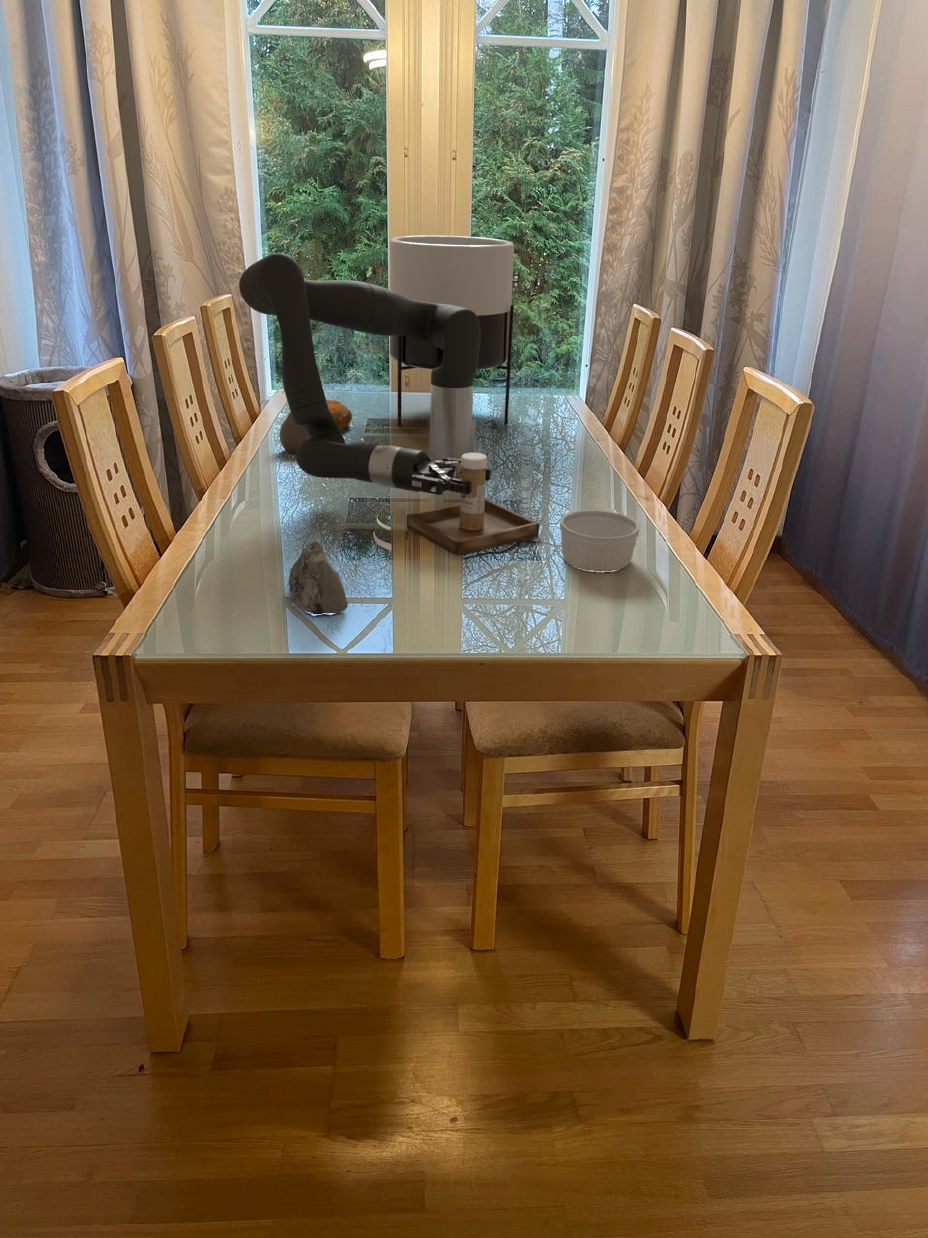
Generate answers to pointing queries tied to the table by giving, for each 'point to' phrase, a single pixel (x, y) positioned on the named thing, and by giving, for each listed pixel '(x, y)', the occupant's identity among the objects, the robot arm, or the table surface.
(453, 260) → the planter
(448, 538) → the walnut tray
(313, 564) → the mineral rock
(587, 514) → the ramekin
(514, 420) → the table surface
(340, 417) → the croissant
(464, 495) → the sprinkles bottle
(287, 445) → the vase
